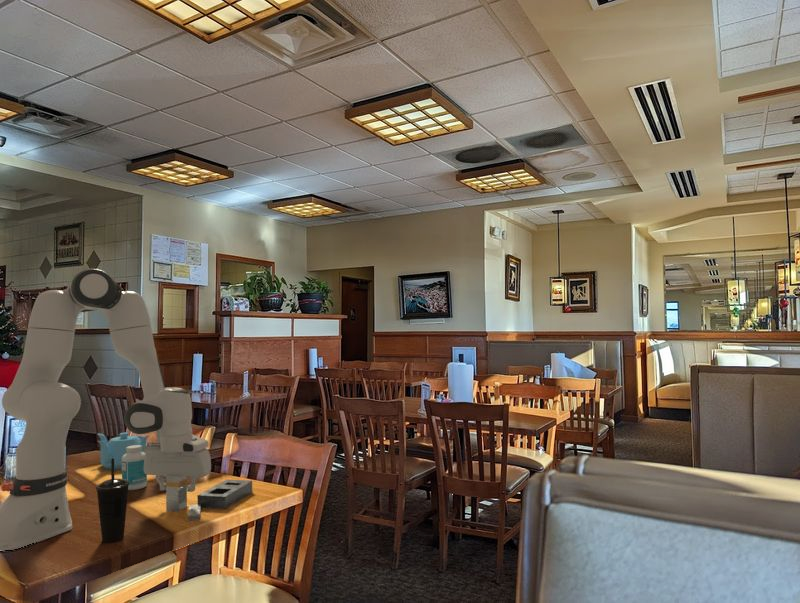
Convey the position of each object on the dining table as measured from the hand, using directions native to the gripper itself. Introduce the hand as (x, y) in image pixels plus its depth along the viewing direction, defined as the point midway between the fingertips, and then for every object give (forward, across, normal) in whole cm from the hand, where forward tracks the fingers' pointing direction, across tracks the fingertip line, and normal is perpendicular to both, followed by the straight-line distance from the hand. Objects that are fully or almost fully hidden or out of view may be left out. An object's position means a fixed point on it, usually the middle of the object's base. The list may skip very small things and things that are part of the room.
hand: (177, 490), depth 162 cm
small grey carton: (+5, 0, -1) cm, 5 cm away
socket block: (+5, +10, +9) cm, 15 cm away
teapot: (+6, -51, +40) cm, 65 cm away
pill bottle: (+5, -27, +16) cm, 31 cm away
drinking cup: (+5, -2, -24) cm, 24 cm away
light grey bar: (+6, +8, -4) cm, 10 cm away
